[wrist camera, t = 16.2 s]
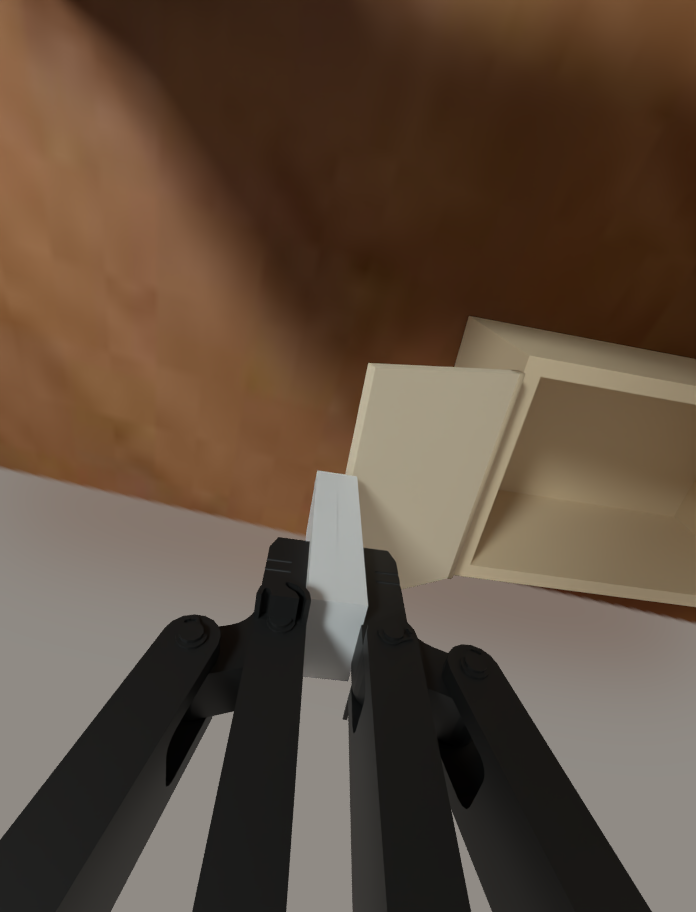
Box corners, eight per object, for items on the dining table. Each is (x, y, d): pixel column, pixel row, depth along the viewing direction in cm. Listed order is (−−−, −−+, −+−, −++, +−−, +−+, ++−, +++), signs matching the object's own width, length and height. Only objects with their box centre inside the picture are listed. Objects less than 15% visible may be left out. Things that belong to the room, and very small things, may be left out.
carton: (420, 483, 34) (451, 576, 25) (468, 315, 29) (529, 355, 20) (670, 521, 36) (782, 619, 27) (758, 371, 31) (933, 430, 22)
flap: (528, 374, 19) (376, 368, 15) (455, 577, 24) (324, 608, 20) (518, 369, 19) (367, 362, 16) (447, 569, 24) (319, 598, 21)
